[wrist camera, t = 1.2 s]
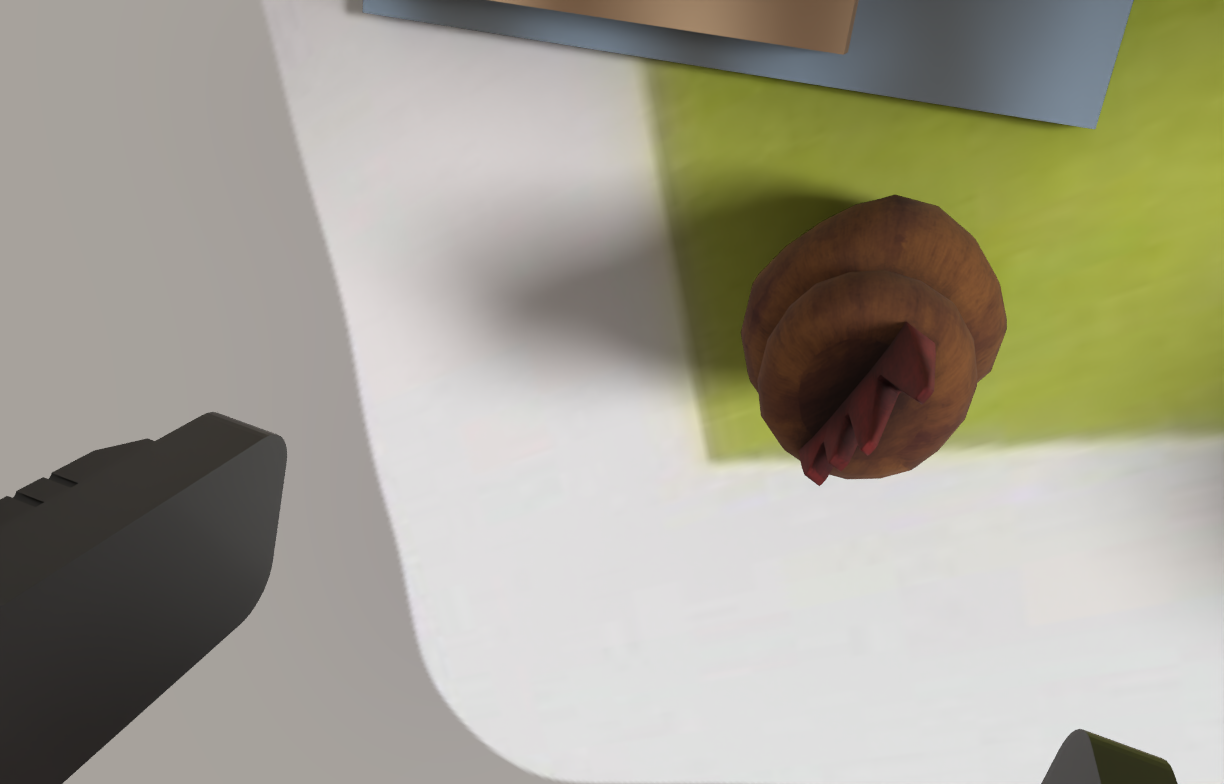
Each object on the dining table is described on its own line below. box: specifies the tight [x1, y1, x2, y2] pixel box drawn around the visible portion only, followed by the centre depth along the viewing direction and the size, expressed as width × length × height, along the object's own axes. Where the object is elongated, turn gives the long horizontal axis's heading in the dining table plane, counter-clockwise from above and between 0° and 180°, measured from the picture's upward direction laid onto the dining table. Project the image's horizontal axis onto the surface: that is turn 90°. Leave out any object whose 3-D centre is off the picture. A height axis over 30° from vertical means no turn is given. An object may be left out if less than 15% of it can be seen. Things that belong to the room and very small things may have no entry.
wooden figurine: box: [741, 195, 1007, 486], centre depth 26 cm, size 7×6×15 cm
